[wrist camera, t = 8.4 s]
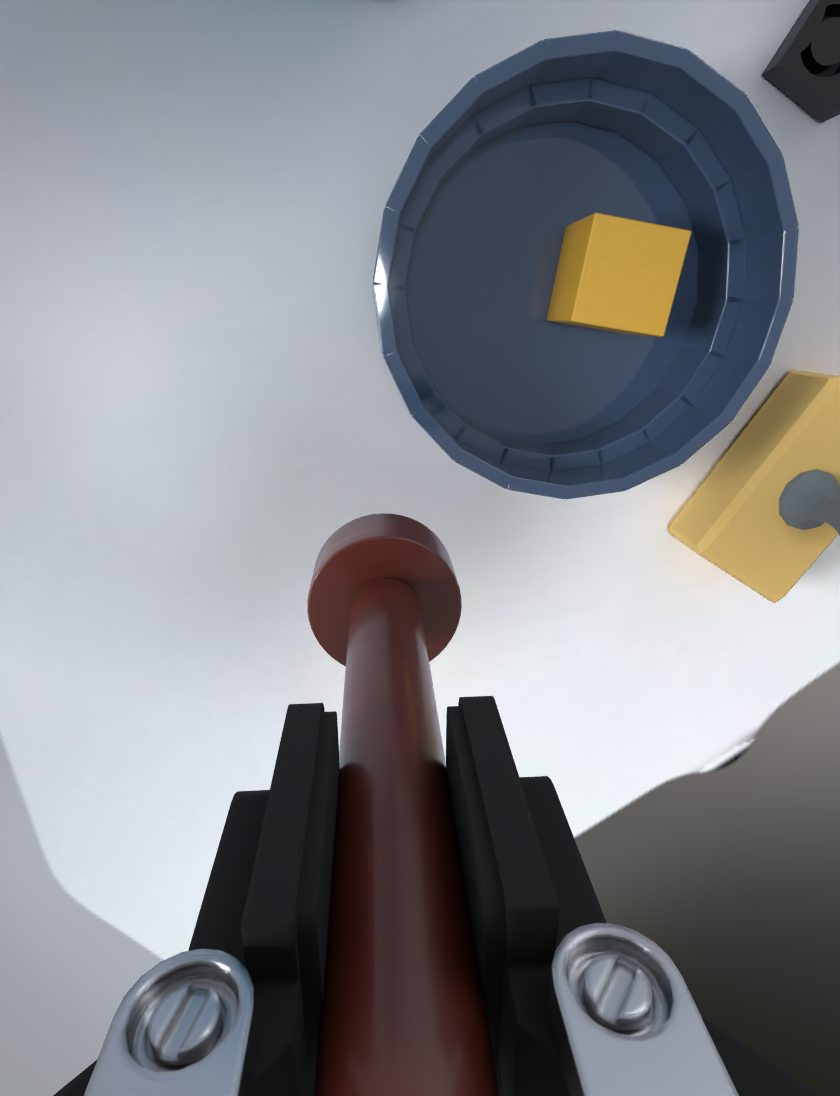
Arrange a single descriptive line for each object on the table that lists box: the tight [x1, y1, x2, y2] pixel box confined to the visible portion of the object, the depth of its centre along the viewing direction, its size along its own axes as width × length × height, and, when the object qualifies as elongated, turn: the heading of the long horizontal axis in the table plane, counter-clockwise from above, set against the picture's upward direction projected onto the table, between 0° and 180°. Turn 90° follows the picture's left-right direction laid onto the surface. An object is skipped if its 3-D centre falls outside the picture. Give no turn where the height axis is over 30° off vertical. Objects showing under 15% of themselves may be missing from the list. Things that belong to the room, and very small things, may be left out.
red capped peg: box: [308, 514, 500, 1096], centre depth 12 cm, size 4×4×14 cm
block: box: [547, 213, 691, 337], centre depth 27 cm, size 4×4×4 cm
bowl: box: [373, 30, 799, 499], centre depth 27 cm, size 16×16×6 cm
